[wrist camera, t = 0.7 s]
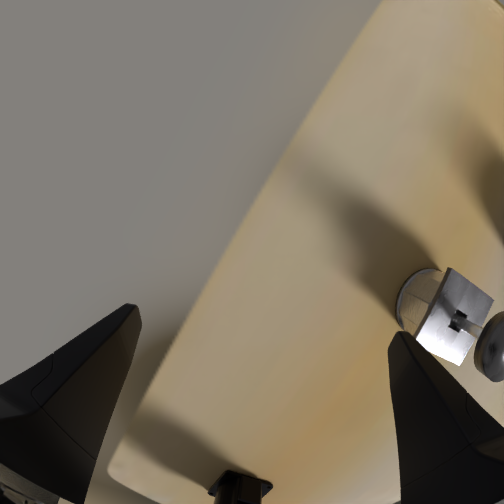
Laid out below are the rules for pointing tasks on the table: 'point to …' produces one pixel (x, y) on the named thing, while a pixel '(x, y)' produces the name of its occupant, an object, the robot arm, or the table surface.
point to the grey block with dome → (441, 311)
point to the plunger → (485, 344)
